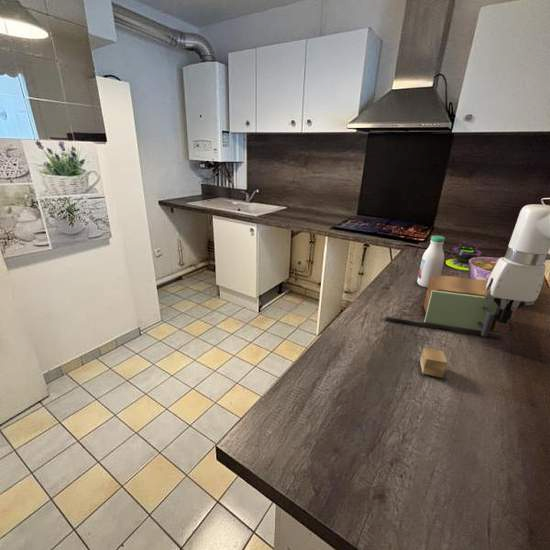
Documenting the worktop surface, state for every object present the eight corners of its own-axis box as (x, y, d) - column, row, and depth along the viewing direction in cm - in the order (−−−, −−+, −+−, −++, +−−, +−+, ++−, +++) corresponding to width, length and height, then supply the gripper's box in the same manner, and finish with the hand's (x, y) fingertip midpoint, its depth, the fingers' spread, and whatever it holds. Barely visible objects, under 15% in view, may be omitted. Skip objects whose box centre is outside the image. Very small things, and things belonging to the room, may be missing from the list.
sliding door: (487, 331, 86) (499, 298, 82) (495, 345, 80) (508, 309, 76) (424, 322, 91) (431, 289, 87) (427, 334, 85) (435, 300, 81)
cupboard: (482, 314, 96) (493, 281, 92) (498, 338, 84) (512, 301, 79) (384, 300, 105) (389, 269, 100) (385, 320, 93) (391, 286, 88)
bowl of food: (466, 301, 105) (475, 271, 100) (457, 280, 122) (464, 254, 118) (534, 311, 98) (547, 280, 94) (514, 288, 115) (524, 260, 111)
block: (439, 365, 73) (443, 351, 71) (443, 377, 69) (447, 362, 67) (419, 362, 74) (423, 347, 72) (422, 373, 70) (426, 358, 68)
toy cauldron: (489, 267, 136) (496, 245, 131) (468, 273, 129) (475, 249, 125) (458, 257, 148) (463, 236, 144) (438, 262, 142) (443, 240, 138)
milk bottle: (441, 285, 117) (453, 237, 109) (431, 290, 113) (443, 240, 105) (423, 279, 123) (433, 233, 115) (412, 283, 119) (422, 235, 111)
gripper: (553, 255, 72) (527, 318, 80) (484, 248, 76) (465, 309, 84) (571, 265, 66) (540, 333, 73) (494, 258, 70) (473, 322, 77)
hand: (500, 320), depth 78 cm, fingers closed
